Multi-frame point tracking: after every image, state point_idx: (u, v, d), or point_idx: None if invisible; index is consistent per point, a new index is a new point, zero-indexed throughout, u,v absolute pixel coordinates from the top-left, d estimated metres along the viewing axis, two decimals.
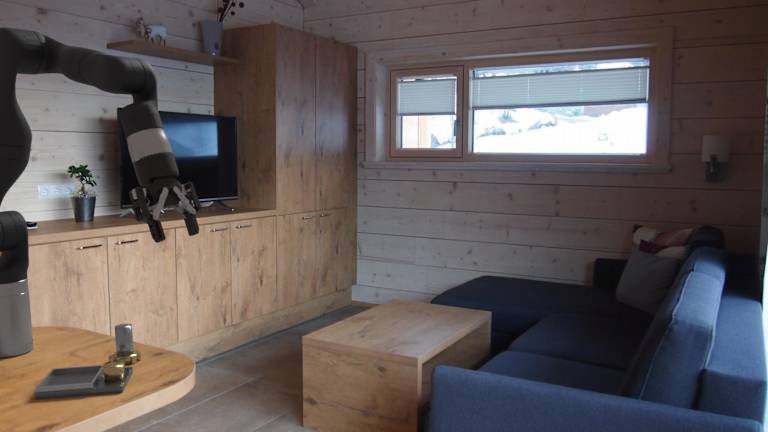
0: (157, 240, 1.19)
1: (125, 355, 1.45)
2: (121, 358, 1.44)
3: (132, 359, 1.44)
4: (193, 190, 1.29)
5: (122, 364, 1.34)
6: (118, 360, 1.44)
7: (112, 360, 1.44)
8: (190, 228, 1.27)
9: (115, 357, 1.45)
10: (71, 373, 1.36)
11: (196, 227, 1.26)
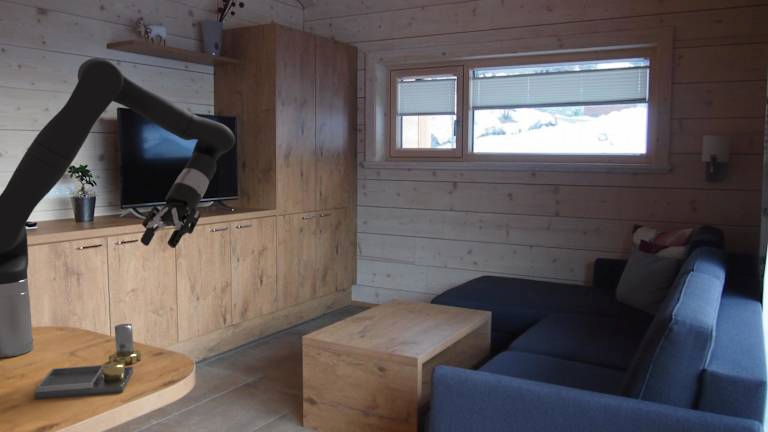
0: (171, 244, 1.51)
1: (125, 355, 1.45)
2: (121, 358, 1.44)
3: (132, 359, 1.44)
4: None
5: (122, 364, 1.34)
6: (118, 360, 1.44)
7: (112, 360, 1.44)
8: (147, 238, 1.56)
9: (115, 357, 1.45)
10: (71, 373, 1.36)
11: None
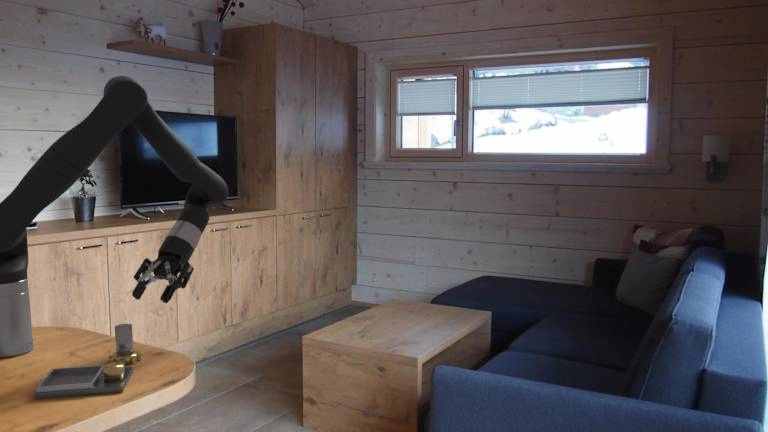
0: (164, 299, 1.51)
1: (125, 355, 1.45)
2: (121, 358, 1.44)
3: (132, 359, 1.44)
4: None
5: (122, 364, 1.34)
6: (118, 360, 1.44)
7: (112, 360, 1.44)
8: (139, 292, 1.55)
9: (115, 357, 1.45)
10: (71, 373, 1.36)
11: None
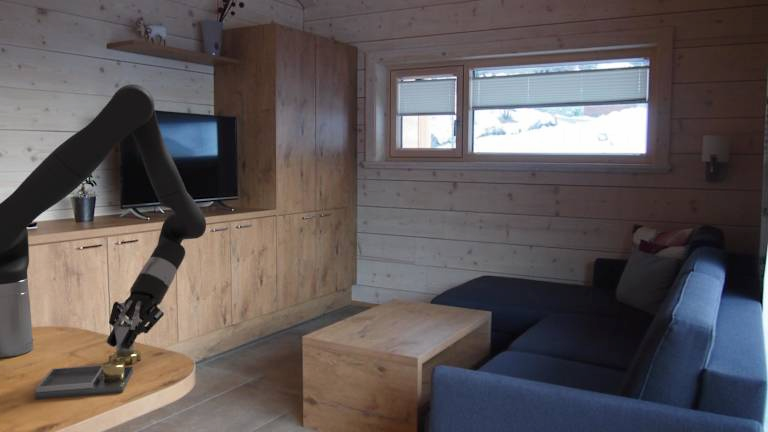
0: (125, 345, 1.43)
1: (125, 355, 1.45)
2: (121, 358, 1.44)
3: (132, 359, 1.44)
4: None
5: (122, 364, 1.34)
6: (118, 360, 1.44)
7: (112, 360, 1.44)
8: (114, 339, 1.46)
9: (115, 357, 1.45)
10: (71, 373, 1.36)
11: None
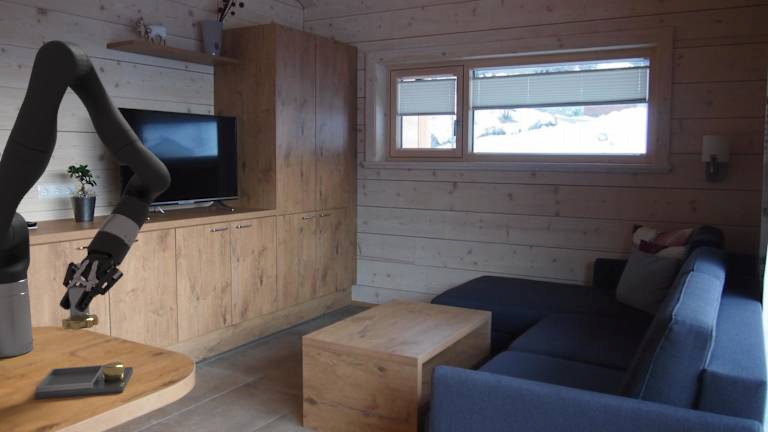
0: (79, 307, 1.30)
1: (80, 319, 1.32)
2: (75, 322, 1.31)
3: (87, 323, 1.31)
4: None
5: (122, 364, 1.34)
6: (72, 324, 1.31)
7: (65, 324, 1.31)
8: (67, 301, 1.33)
9: (69, 321, 1.32)
10: (71, 373, 1.36)
11: None
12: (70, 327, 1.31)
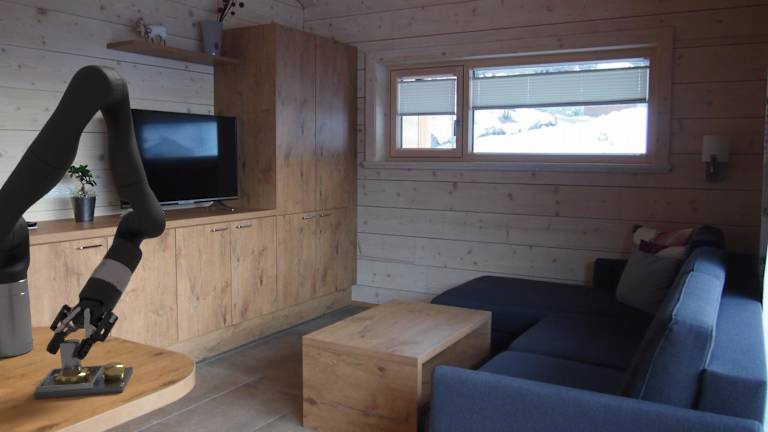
0: (78, 355, 1.28)
1: (71, 375, 1.30)
2: (66, 379, 1.29)
3: (79, 379, 1.30)
4: None
5: (122, 364, 1.34)
6: (63, 380, 1.29)
7: (56, 380, 1.29)
8: (54, 346, 1.32)
9: (60, 377, 1.30)
10: None
11: None
12: (62, 383, 1.30)
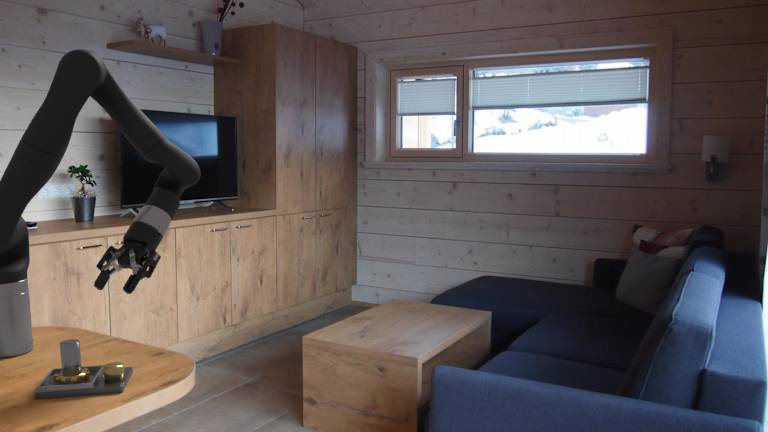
0: (127, 289, 1.38)
1: (71, 375, 1.30)
2: (66, 379, 1.29)
3: (79, 379, 1.30)
4: None
5: (122, 364, 1.34)
6: (63, 380, 1.29)
7: (56, 380, 1.29)
8: (101, 282, 1.43)
9: (60, 377, 1.30)
10: None
11: None
12: (62, 383, 1.30)
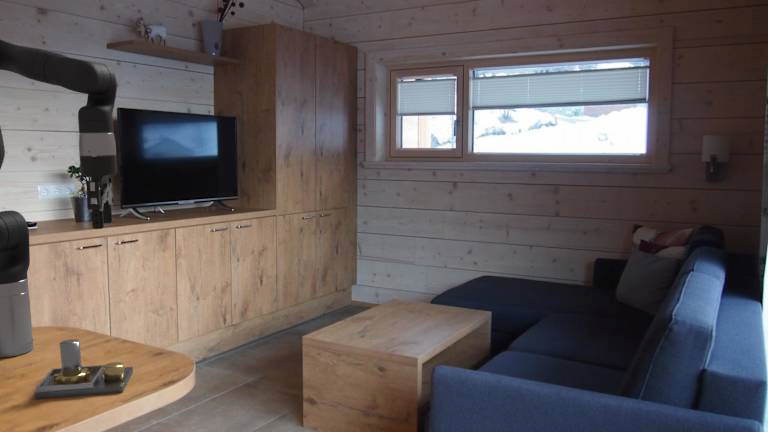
0: (96, 227, 1.42)
1: (71, 375, 1.30)
2: (66, 379, 1.29)
3: (79, 379, 1.30)
4: (112, 185, 1.52)
5: (122, 364, 1.34)
6: (63, 380, 1.29)
7: (56, 380, 1.29)
8: (105, 217, 1.51)
9: (60, 377, 1.30)
10: None
11: (111, 217, 1.51)
12: (62, 383, 1.30)
